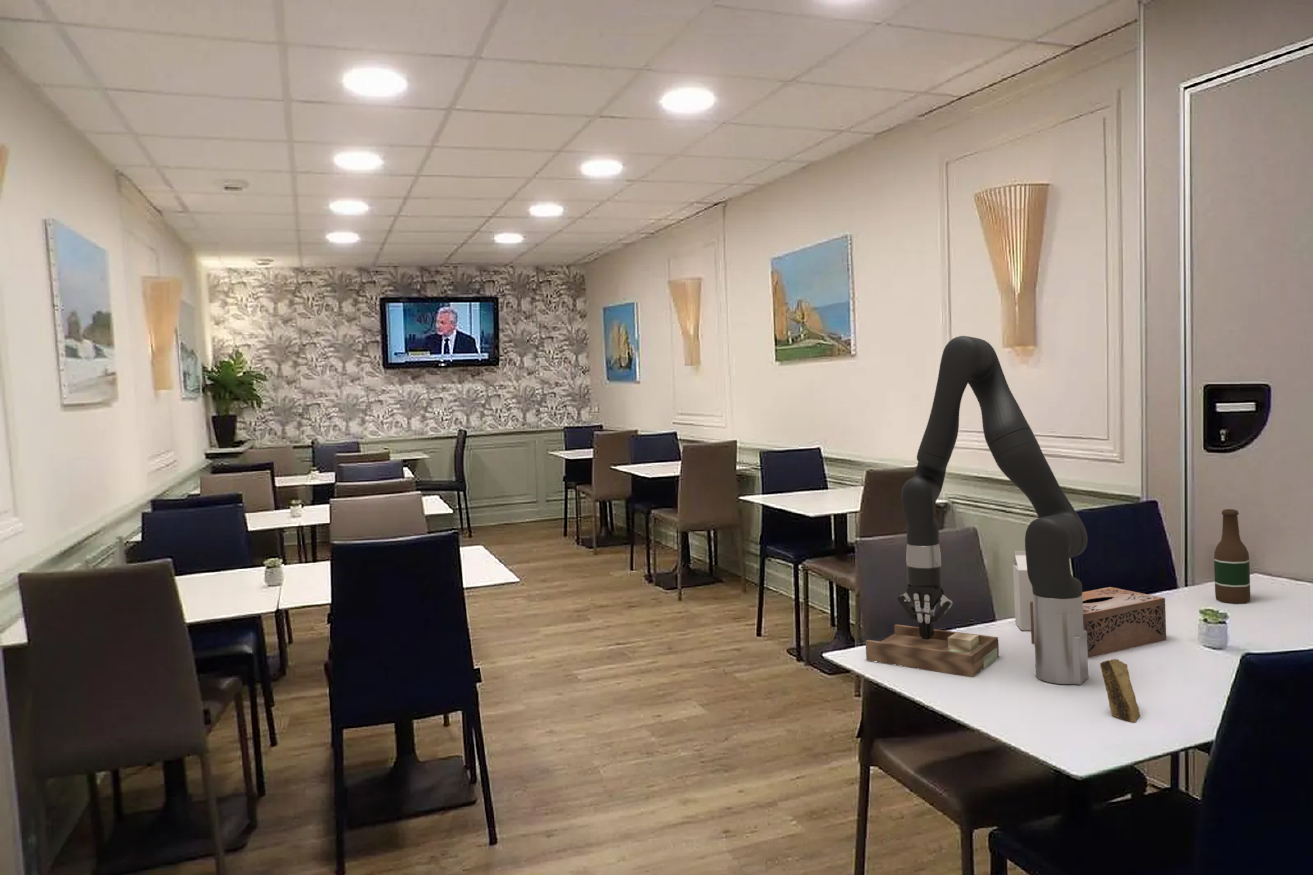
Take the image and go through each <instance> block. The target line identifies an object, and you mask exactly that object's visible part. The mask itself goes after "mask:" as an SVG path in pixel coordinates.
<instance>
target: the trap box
mask: <svg viewBox="0 0 1313 875" xmlns="http://www.w3.org/2000/svg"><path fill="white" fill-rule="evenodd" d="M893 626H894V633H893V634H891V635H889V636H887V637H886V638H884V639H882V640H881V641H880V640H879V641H878V640H871V639H867V640H865V657H866V660H870V661H869V662H872V661H877V662H876V663H879V662H881V664H885V663H887V665H892V664H896V665H895V666H898V665H902V666H901V667H904V666H906V668H912V669H917V668H919V670H924V669H925V671H930V672H931V671H932V672H938V673H943V674H949V673H950V675H957V676H961V677H962V676H963V677H970V678H974V677H975V676H976V675H977V674H979V673H981V672H982V671H983V670H984V669H986V668H987V667H988V666H990V664H992V663H993V662H995V661H996V660H997V659H999V657H1000V652H999V650H1000V649H999V645H1000V644H999V636H992V635H985V634H975V633H972V634H973V635H978V637H979V647H977V648H976V649H974V650H973V651H971V652H967V651H960V650H952V649H948V637H950V636H951V635H953V634H954V633H956V632H957V633H962V632H958V631H952V630H944V629H935V628H934V635H933V636H932V637H931V639H929V640H927V639H922V636H920V634H919V626H911V625H904V624H898V623H897V624H894V625H893ZM964 633H965V634H970V632H969V633H968V632H964ZM994 660H995V661H994ZM981 670H982V671H981Z"/></svg>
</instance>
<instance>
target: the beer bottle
mask: <svg viewBox="0 0 1313 875" xmlns="http://www.w3.org/2000/svg"><path fill="white" fill-rule="evenodd" d="M1221 515H1222V528H1221V529H1222V530H1221V533H1222V534H1221V537H1220V538H1221V539H1220V541H1219V542H1218V544H1217V545H1216V547H1215V550H1214V554H1213V564H1214V566H1213V567H1214V568H1213V570H1214V595H1215V599H1216V601H1218V602H1221V603H1223V604H1230V605H1237V604H1238V605H1243V604H1247V603H1250V602H1251V572H1250V571H1251V569H1250V554H1249V551H1248V549H1247V547H1246V545H1245V544H1244V543H1243V542H1242V541H1241V540H1242V539H1241V535H1240V527H1239V518H1238V515H1239V510H1237V509H1233V508H1228V509H1222V511H1221Z"/></svg>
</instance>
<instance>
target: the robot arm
mask: <svg viewBox="0 0 1313 875" xmlns="http://www.w3.org/2000/svg"><path fill="white" fill-rule="evenodd" d="M1004 374H1005V373H1004V371H1003V369H1002V365H1001V363H1000V360H999V357H998V355H997V353H996V350H995V348H994V347H993V345H991V343H990V342H989V341H988V342H987V340H984V339H981V338H978V337H974V336H973V337H972V336H967V335H959V336H956V337H954V338H952V339H950V340H949V341H948V342H947V344H946V345H945V346H944V348H943V351H942V354H941V359H940V364H939V369H938V376H937V383H936V386H935V392H934V397H933V401H932V406H931V411H930V414H929V417H928V421H927V425H926V427H925V431H924V432H923V436H922V439H921V442H920V445H919V447H918V449H917V454H916V461H917V465H916V468H915V472H914V474H913V477H911V478H910V479H908V480H906V481H905V483H904V484H903V486H902V489H901V504H902V510H903V514H904V519H905V522H906V552H905V553H906V557H905V562H906V576H907V577H906V580H907V587H906V590H905V592H904V593H903V594H901V595H899V596H897V601H898V602H899V604H900V605H901V607H902V608H903V610H905V612H906V613H907V615H908V616H909V618H910V619H911V620H916V621H917V622H918V627H919V634H920V636H922V639H927V640H929V639H931V637H932V636H933V635H934V629H935V628H934V627H935V626H934V624H935V623H936V622H937V623H938V621H940V620H941V619H943V617H944V616H945V615H946V614H947V612H948V611H949V610H950V609H951V607H952V606H953V605H954V603H955V601H954V600H953V599H949V598H948V597H947V596H946V595H945V592H944V590H943V587H942V586H943V580H942V554H941V547H940V530H939V523H938V520H937V519H936V518H935V514H934V513H935V512H934V503H935V502H936V501H937V500H938V499H939V496H940V494H941V492H942V489H943V487H944V486H943V485H944V482H945V477H946V473H947V466H948V465H949V464H948V463H949V462H950V461H951V460H950V459H951V456H952V454H953V451H954V449H955V445H956V442H957V440H958V436H959V428H960V427H959V426H960V409H961V402H962V400H963V396H964V392H965V391H966V387H967V385H969V386H970V388H971V390H972V393H974V395H975V397H976V400H977V402H978V404H979V407H980V412H981V418H982V420H981V422H982V431H983V434H984V439H985V442H986V445H987V447H988V449H989V451H990V453H991V455H992V457H993V459H994V461H995V463H996V466H997V467H998V468H999V469H1000V471H1001V472H1002V473H1003V474H1004V475H1005V476H1006V477H1007V479H1008V480H1010V481H1011V482H1012V483H1013V484H1014V485H1015V486H1016V488H1018V489H1019V490H1020V491H1021V492H1022V493H1023V494H1024V495H1025V496H1026V498H1027V499H1028V501H1029V502H1030V504H1031V506H1032V507H1033V509H1034V511H1035V513H1036V515H1037V517H1038V518H1036V519H1034V520H1032V521H1031V522H1030V523H1029V524H1028V526H1027V528H1026V532H1025V534H1024V535H1025V536H1024V551H1025V552H1026V563H1027V573H1028V578H1029V580H1030V583H1031V585H1032V590H1033V616H1034V641H1035V644H1034V658H1035V665H1034V667H1035V677H1036V678H1037V679H1039V680H1040V681H1044V682H1046V683H1051V684H1060V685H1079V686H1080V685H1082V684H1083V683H1084V682H1085V681H1086V680H1087V679H1088V678H1089V658H1088V650H1087V631H1086V630H1084V626H1083V600H1082V592H1083V584H1082V582H1081V580H1080V579H1078V578H1076V577H1074V576H1073V575H1072V572H1071V564H1070V562H1071V561H1070V559H1071V558H1075V557H1078V556H1081V554H1083V553H1084V551H1085V550H1086V549H1087V546H1088V542H1089V540H1088V539H1089V538H1088V533H1087V529H1086V527H1085V525H1084V523H1083V521H1082V519H1081V518H1080V516H1079V514H1078V513H1077V511H1076V510H1075V508H1074V506H1073V505H1072V504H1071V502H1070V500H1069V499H1068V497H1067V496H1066V495H1065V492H1064V490H1063V488H1062V487H1061V486H1060V484H1059V482H1058V480H1057V479H1056V476H1055V474H1054V472H1053V470H1052V468H1051V466H1050V465H1049V462H1048V461H1047V458H1046V457H1045V455H1044V453H1043V451H1042V449H1041V446H1040V443H1039V442H1038V440H1037V438H1036V436H1035V433H1034V432H1033V429H1032V428H1031V426H1030V424H1029V422H1028V421H1027V419H1026V417H1025V415H1024V414H1023V412H1022V409H1021V408H1020V405H1019V404H1018V402H1017V400H1016V398H1015V397H1014V394H1013V393H1012V391H1011V389H1010V387H1009V384H1008V382H1007V379H1006V376H1005V375H1004ZM939 603H940V608H939V609H938V610H937V612H935V611H936V606H938V605H939Z"/></svg>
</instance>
